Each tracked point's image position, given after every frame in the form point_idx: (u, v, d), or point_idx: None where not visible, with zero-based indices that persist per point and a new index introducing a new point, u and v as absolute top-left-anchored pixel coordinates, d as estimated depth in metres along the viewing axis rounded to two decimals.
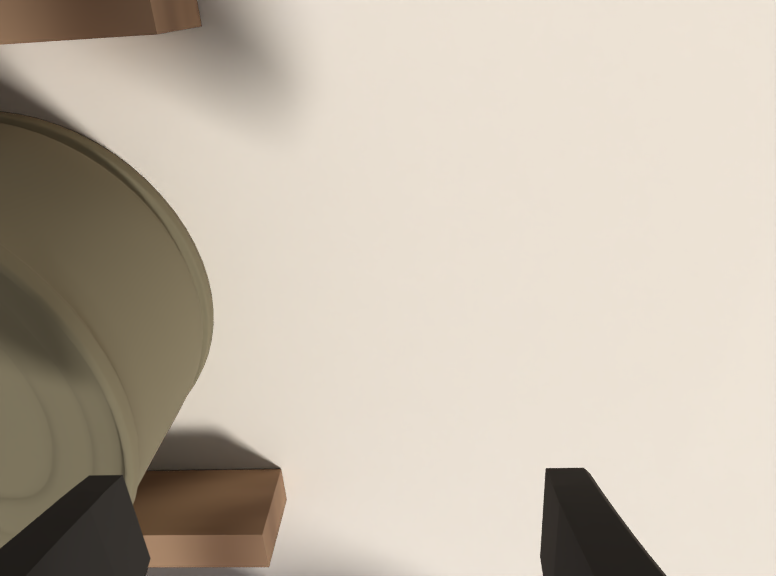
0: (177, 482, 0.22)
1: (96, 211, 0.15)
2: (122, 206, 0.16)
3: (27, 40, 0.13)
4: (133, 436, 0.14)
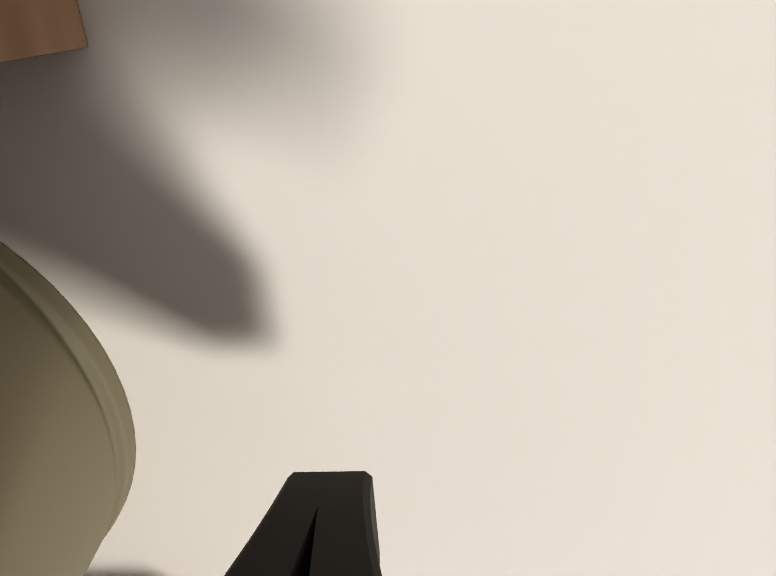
0: None
1: None
2: None
3: None
4: None
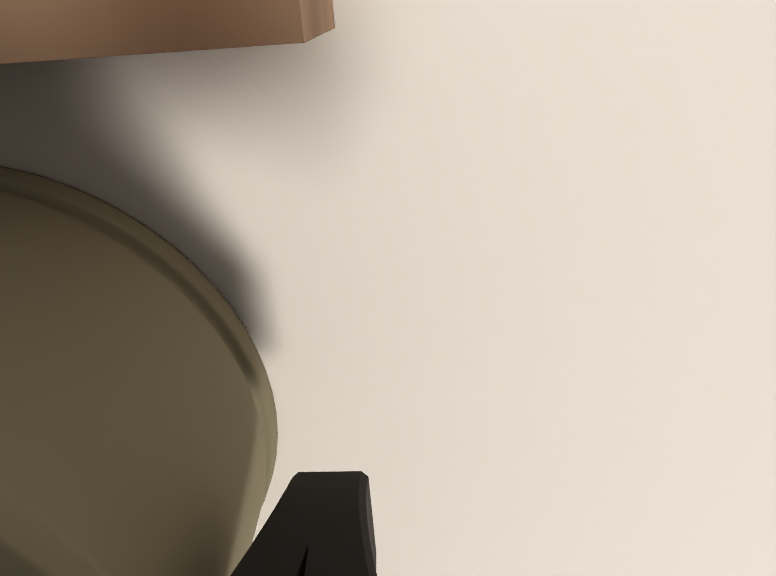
0: None
1: (122, 336, 0.10)
2: (159, 317, 0.10)
3: (76, 54, 0.08)
4: None
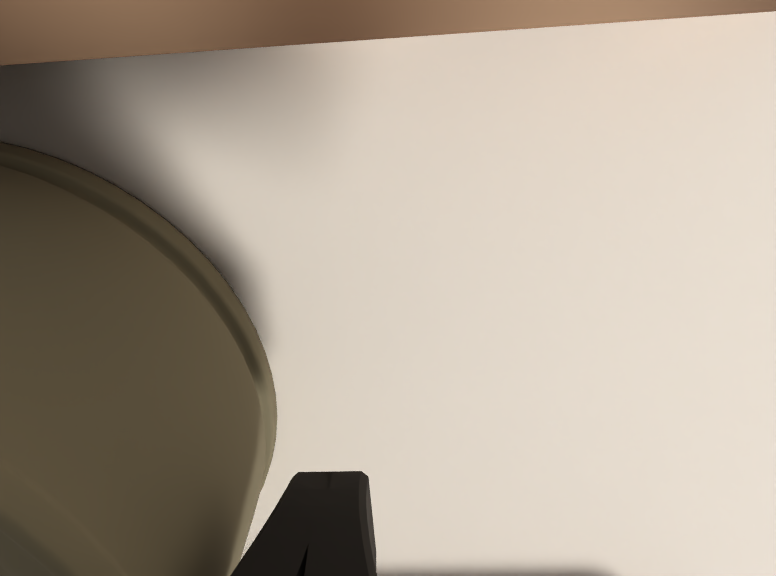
0: None
1: (146, 333, 0.09)
2: (179, 315, 0.10)
3: (690, 12, 0.07)
4: None
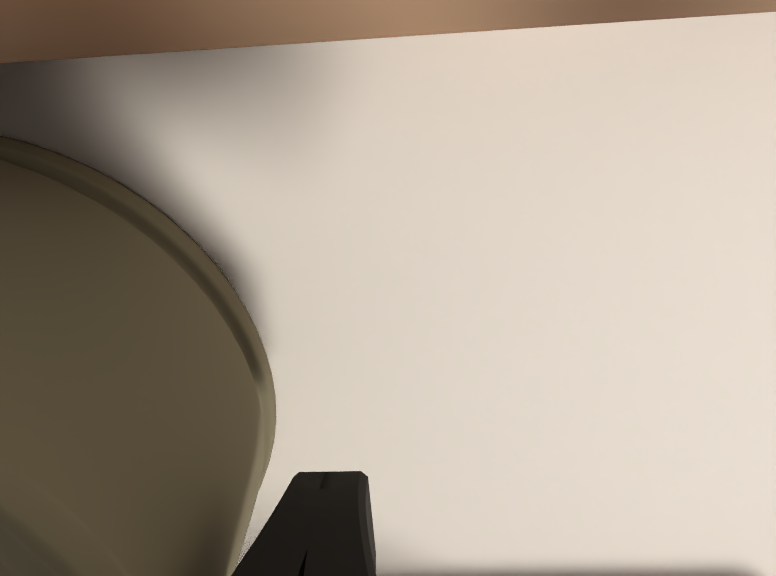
0: None
1: (150, 334, 0.09)
2: (183, 316, 0.10)
3: None
4: None
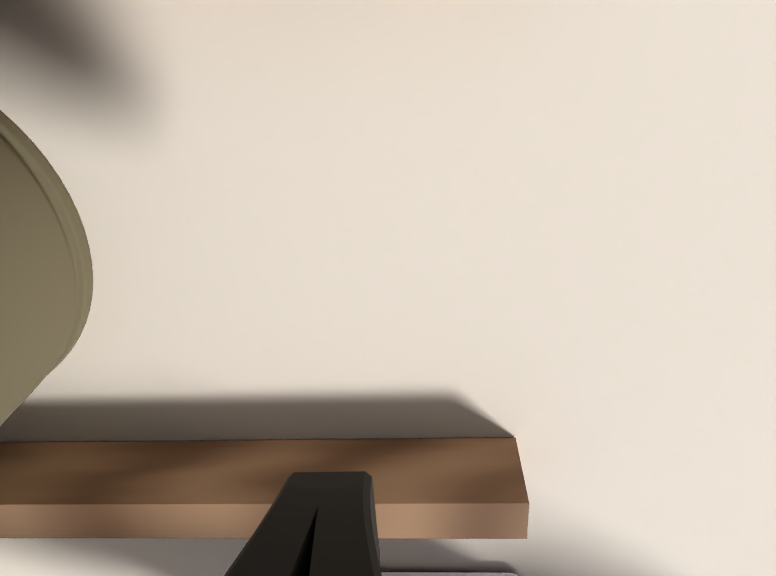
0: (408, 450, 0.21)
1: None
2: None
3: None
4: None
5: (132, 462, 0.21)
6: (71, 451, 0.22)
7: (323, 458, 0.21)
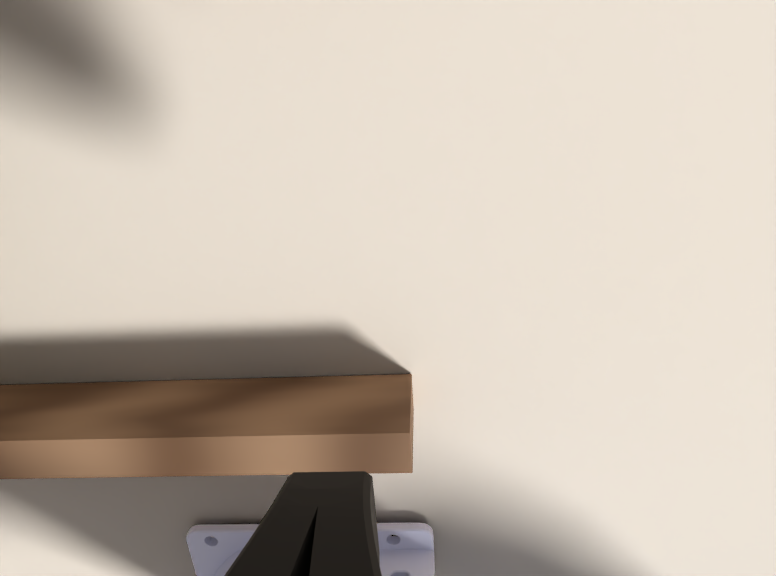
0: (298, 387, 0.20)
1: None
2: None
3: None
4: None
5: (12, 403, 0.20)
6: None
7: (208, 396, 0.20)
